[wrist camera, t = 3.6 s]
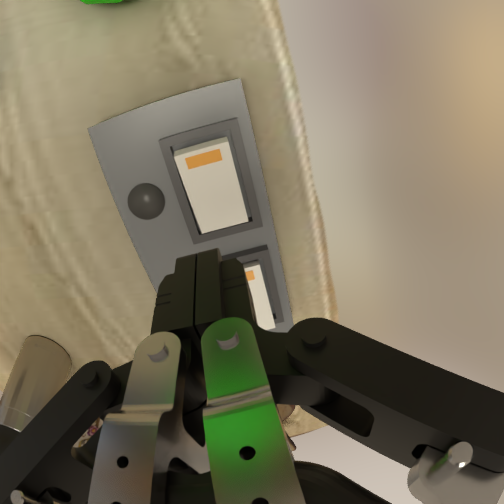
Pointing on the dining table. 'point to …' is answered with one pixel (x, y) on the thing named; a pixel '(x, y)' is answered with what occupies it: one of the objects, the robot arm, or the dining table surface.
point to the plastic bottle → (100, 1)
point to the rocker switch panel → (173, 191)
